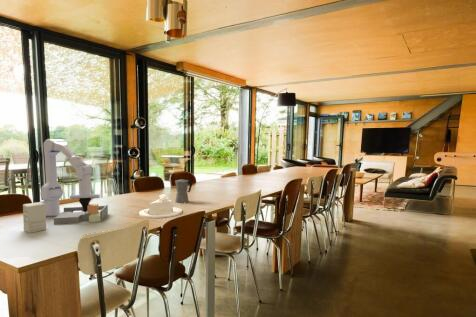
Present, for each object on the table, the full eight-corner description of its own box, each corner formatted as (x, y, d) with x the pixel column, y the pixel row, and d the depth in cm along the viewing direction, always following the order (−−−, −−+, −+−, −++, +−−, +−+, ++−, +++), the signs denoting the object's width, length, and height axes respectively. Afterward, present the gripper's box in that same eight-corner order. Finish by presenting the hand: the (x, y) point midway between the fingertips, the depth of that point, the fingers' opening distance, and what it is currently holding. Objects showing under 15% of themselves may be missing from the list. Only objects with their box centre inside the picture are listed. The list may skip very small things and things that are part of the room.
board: (53, 224, 147) (53, 213, 147) (64, 216, 162) (64, 206, 162) (102, 221, 153) (101, 211, 152) (107, 214, 168) (107, 204, 168)
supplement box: (41, 226, 142) (40, 201, 141) (46, 229, 137) (45, 203, 137) (23, 230, 136) (22, 204, 136) (28, 233, 132) (27, 206, 131)
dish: (161, 207, 189) (161, 190, 188) (190, 211, 176) (190, 193, 175) (129, 214, 167) (129, 195, 167) (160, 221, 155) (160, 200, 154)
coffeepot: (170, 202, 203) (170, 176, 202) (179, 199, 211) (178, 175, 210) (187, 204, 196) (187, 178, 195) (196, 201, 204) (196, 176, 203)
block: (87, 213, 156) (87, 205, 156) (89, 212, 160) (89, 204, 160) (96, 213, 157) (96, 205, 157) (98, 211, 161) (98, 203, 161)
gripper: (67, 188, 151) (68, 214, 152) (97, 187, 155) (98, 212, 155) (71, 186, 158) (72, 211, 159) (100, 185, 162) (101, 209, 162)
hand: (85, 211), depth 158 cm, fingers closed
